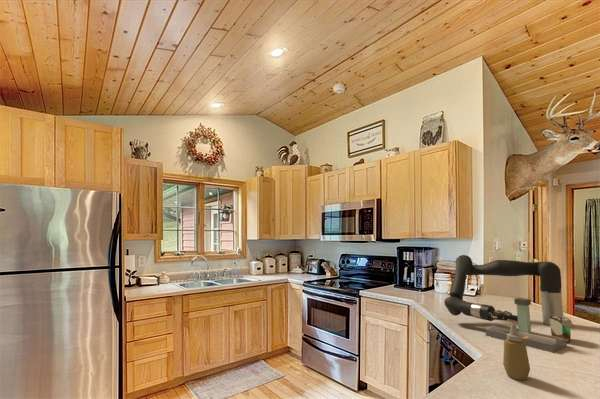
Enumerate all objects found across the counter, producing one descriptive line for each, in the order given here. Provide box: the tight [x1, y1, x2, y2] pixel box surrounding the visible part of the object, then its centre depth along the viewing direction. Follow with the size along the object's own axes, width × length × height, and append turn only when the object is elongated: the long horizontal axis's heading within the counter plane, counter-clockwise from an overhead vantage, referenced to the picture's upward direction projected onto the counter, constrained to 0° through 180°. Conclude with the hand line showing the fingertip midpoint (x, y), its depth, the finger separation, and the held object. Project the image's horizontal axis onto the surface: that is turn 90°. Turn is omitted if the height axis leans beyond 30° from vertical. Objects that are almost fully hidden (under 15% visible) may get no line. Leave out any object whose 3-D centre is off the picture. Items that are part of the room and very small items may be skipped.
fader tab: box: [513, 297, 532, 334], centre depth 156 cm, size 4×5×16 cm
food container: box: [549, 315, 573, 344], centre depth 156 cm, size 12×6×10 cm, turn 168°
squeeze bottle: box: [502, 323, 531, 381], centre depth 119 cm, size 8×8×18 cm
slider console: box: [485, 323, 568, 354], centre depth 156 cm, size 14×28×4 cm, turn 33°
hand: (519, 318), depth 158 cm, fingers closed
